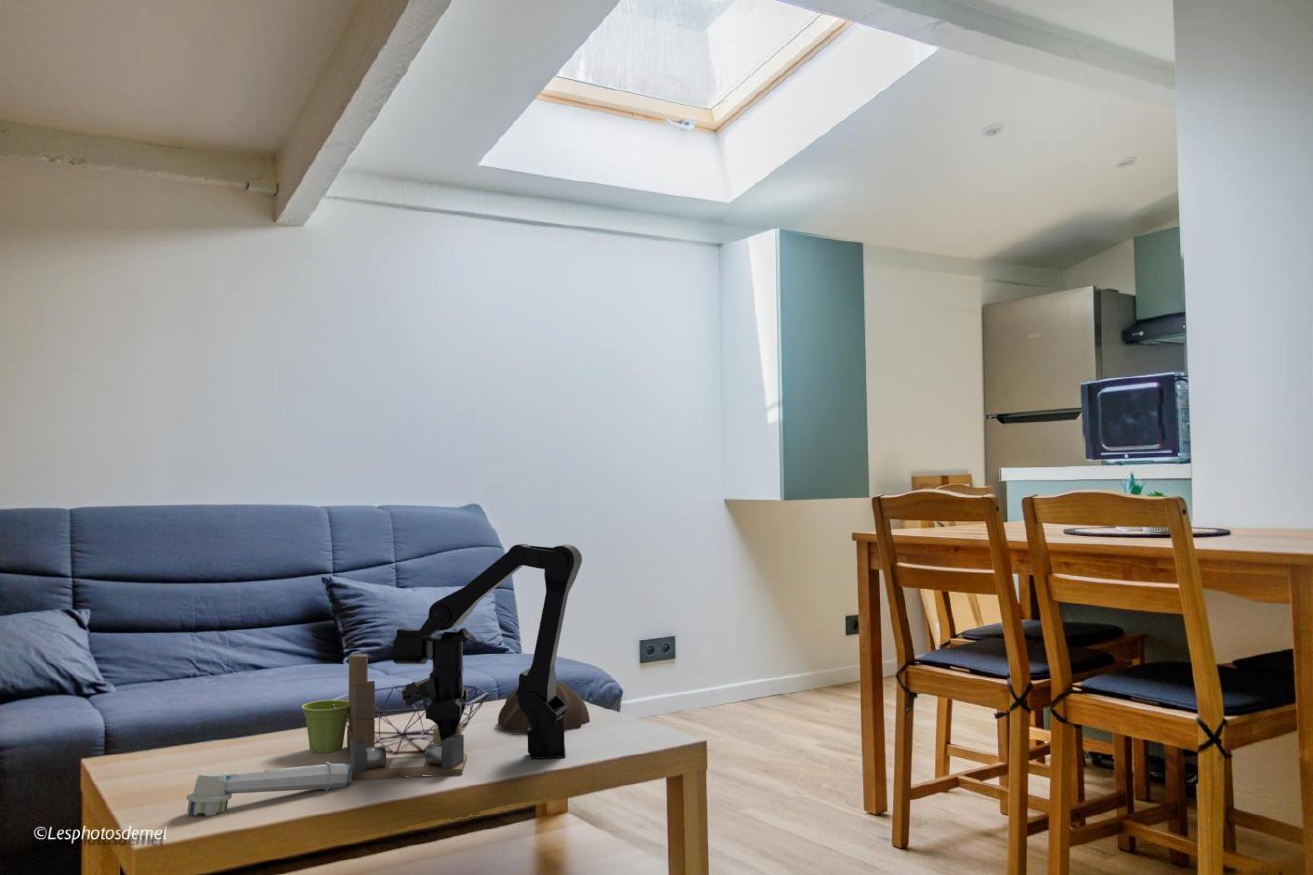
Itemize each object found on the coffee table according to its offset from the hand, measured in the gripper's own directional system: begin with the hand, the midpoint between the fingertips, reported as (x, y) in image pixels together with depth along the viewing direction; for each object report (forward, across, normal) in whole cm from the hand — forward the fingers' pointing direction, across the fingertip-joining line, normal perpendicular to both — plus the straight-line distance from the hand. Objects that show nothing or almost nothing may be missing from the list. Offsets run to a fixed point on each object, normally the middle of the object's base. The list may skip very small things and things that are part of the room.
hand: (447, 747), depth 184 cm
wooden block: (+1, -4, -17) cm, 18 cm away
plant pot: (+1, -7, -24) cm, 25 cm away
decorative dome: (+2, -22, +18) cm, 29 cm away
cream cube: (+1, 0, 0) cm, 1 cm away
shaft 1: (0, +13, -13) cm, 18 cm away
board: (+1, +11, -6) cm, 13 cm away
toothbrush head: (+2, +25, -26) cm, 36 cm away
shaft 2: (0, +13, +1) cm, 13 cm away
